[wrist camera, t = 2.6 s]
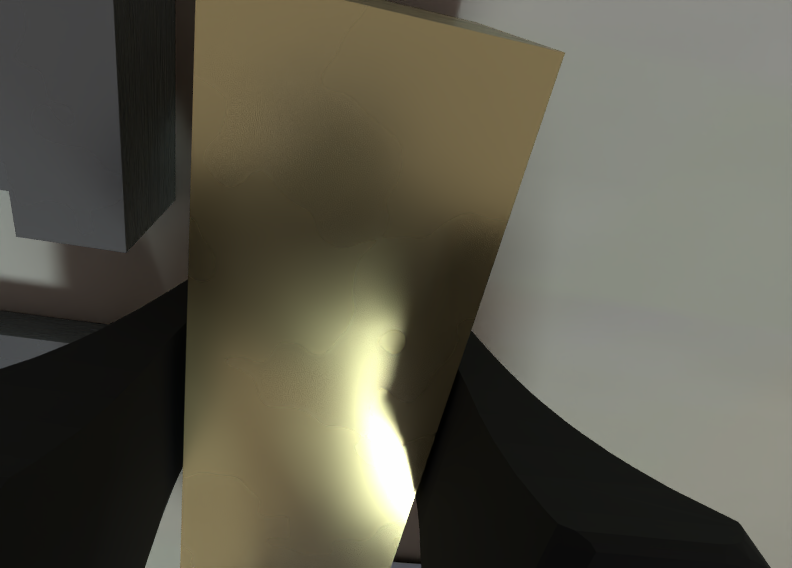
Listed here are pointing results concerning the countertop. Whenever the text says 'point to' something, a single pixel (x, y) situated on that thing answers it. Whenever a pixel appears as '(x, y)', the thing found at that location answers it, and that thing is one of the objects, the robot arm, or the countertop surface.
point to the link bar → (337, 263)
